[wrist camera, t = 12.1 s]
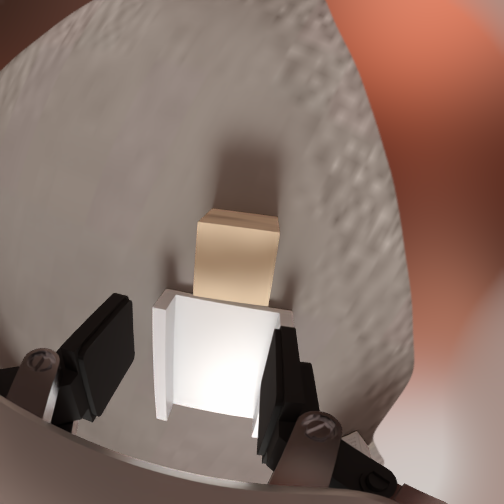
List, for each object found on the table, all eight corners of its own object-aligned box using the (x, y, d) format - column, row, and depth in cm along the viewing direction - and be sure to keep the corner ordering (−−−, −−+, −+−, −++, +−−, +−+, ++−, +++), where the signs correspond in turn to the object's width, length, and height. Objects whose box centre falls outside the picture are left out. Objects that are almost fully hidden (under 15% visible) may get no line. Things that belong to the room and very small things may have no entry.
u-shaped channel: (263, 414, 32) (262, 438, 28) (165, 396, 32) (156, 418, 28) (292, 310, 27) (295, 332, 24) (166, 288, 27) (152, 307, 24)
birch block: (268, 277, 27) (268, 306, 21) (207, 268, 27) (193, 295, 21) (277, 216, 25) (280, 232, 20) (212, 208, 25) (197, 221, 20)
